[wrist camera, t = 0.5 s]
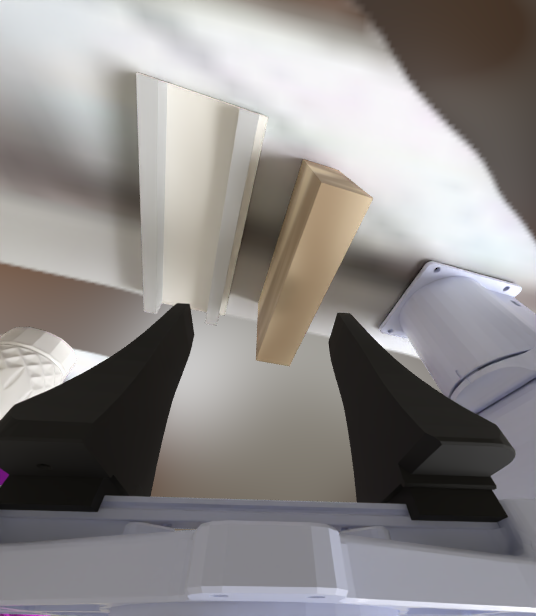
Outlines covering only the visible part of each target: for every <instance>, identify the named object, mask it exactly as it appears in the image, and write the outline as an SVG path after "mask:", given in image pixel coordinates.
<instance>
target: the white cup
mask: <svg viewBox="0 0 536 616" xmlns="http://www.w3.org/2000/svg"><path fill="white" fill-rule="evenodd" d="M76 359H77V357H76V355H75V353H74V350H73V348H72V347H71V346H69V345H68V344H67V343H66V342H65V341H64V340H63V339H61V338H59V337H58V336H56V335H54V334H52V333H50V332H48V331H45V330H41V329H36V328H33V327H15V328H13V329H11V330H10V331H8V332H6V333H5V334H3V335H2V336H1V337H0V420H1V419H2V418H3V417H4V416H5V414H6V413H7V412H8V411H9V410H10V409H11V408H12V407H13V405H14V404H17V403H19V402H22V401H24V400H26V399H29V398H31V397H33V396H36V395H38V394H40V393H43V392H45V391H47V390H50V389H52V388H54V387H56V386H58V385H60V384H62V383H63V381H64V380H65V378H66V377H67V375H68V374H69V372H70V371H71V369H72V368H73V366H74V364H75V362H76Z"/></svg>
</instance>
